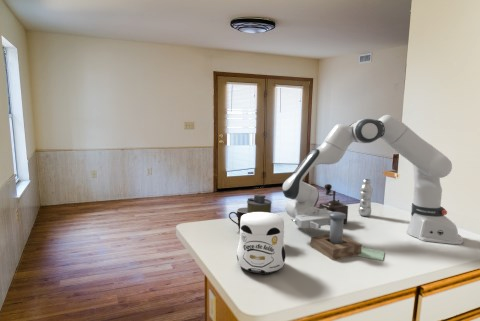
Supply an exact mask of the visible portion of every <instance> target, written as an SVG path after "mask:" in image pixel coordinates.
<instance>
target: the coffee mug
mask: <svg viewBox="0 0 480 321" xmlns="http://www.w3.org/2000/svg"><path fill="white" fill-rule="evenodd" d="M232 214H235V215H236V217H237V221H235V220H234V219H232V217H231V215H232ZM244 214H247V207H238V208H237V209H236V211H231V212H230V213H228V218H229V219H230V221H232V222H233V223H234V224H236V225H237V227H238V232H239V233H240V220H241V216H242V215H244Z"/></svg>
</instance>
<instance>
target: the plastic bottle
mask: <svg viewBox="0 0 480 321" xmlns="http://www.w3.org/2000/svg"><path fill="white" fill-rule="evenodd" d="M362 180H363V181H362V185H361V186H360V188H359V196H360V197H359V199H360V201H359V206H358V215H360V216H363V217H369V216H371V215H372V202H371V201H372V196H373V190H374V189H373V186H372V185H371V184H372V183H371V181H372V180H371V179H369V178H365V179H362Z"/></svg>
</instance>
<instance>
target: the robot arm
mask: <svg viewBox="0 0 480 321" xmlns="http://www.w3.org/2000/svg"><path fill="white" fill-rule="evenodd" d="M379 139H382V140H383V141H384V142H386V143H387V144H388V145H389V146H390V147H391V148H392V149H394V150H395V151H396V152H397V153H398V154H399V155H401V157H403V158H404V159H406V160H407V161H408V162H410V163H411V164H412V169H413V170H412V171H413V182H414V188H413V189H414V190H413V191H414V192H413V200H412V204H411V209H410V221H409V225H408V227H407V229H406V233H407V234H408V235H410V236H411V237H415V238H417V239H419V240H421V241H423V242H432V243H440V244H448V245H449V244H450V245H451V244H452V245H462V244H464V238H463V237H462V235H460V234H459V232H458V227H457V225H456V224H455V223H454V222H453V221H452V220H451V219H449V218H448V217H447V216H446V215H447V214H448V211H447V210H446V209H445V208H444V206H441V204H442V203H441V202H442V196H443V195H442V192H443V188H442V185H441V181H440V180H441V179H442V178H445V177H447V176H449V174H451V171H452V169H453V163H452V161H451V160H450V159H449V158H448V157H447V156H446V155H445V154H444V153H442V151H440V150H438V149H437V148H435V147H434V146H433V145H432V144H430V143H429V142H427V141H426V140H424V139H423V138H422V137H421V136H420V135H418V134H417V133H416V132H414V130H412V129H411V128H410V127H408V125H406V124H405V123H404V122H403V121H401V120H399V119H398V118H396V117H395V116H393V115H390V114H385V115H382V116H380V117H379V118H378V119H373V118H362V119H358V120H356V121H354V122H352V123H351V124H349V125H348V124H345V123H337V124H335V125H334V126H333V127H332V129H331V130H330V131H329V132H328V134H327V135H326V137H325V138H324V140H323V142H322V143H321V144H320V145H319V146H318V147H317V148H314V149H311V150H310V151H309V153H307V155H305V157H304V158H303V159H302V161H301V162H300V163H299V165H298V166H297V167H296V168H295V170H294V171H292V174H290V175H289V176H288V177H287V178H286V179H285V180H284V182H282V186H281V190H282V194H283V196H284V197H285V198H287V199H290V200H287V201H286V203H285V206H284V207H285V208H284V209H285V213H286V214H287V215H288V216H289V217H290V218H291V219H290V220H291V222H294V224H295V225H296V226H297V227H298V228H300V229H311V228H313V229H314V228H315V229H319V230H320V229H321V227H323V226H330V222H331V218H330V217H329V213H330V212H332V211H329V210H327V209H326V208H322V207H318V206H317V204H318V201H319V197H320V192H319V190H318V187H315V186H313V185H311V184H309V183H307V182H305V181H303V180H304V179H305V178H306V176H307V175H308V174H309V172H310V171H311V170H312V168H314V167H315V166H317V165H328V166H329V165H334V164H337V163H339V162H340V161H341V160H342V158H343V157H344V156H345V153H346V151H347V150H348V148H349V147H350V145H351V144H352V143H359V144H370V143H373V142H376V141H377V140H379ZM316 206H317V207H316Z"/></svg>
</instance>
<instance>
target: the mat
mask: <svg viewBox="0 0 480 321" xmlns="http://www.w3.org/2000/svg"><path fill="white" fill-rule="evenodd" d="M384 256H385V251H383V250H378V249H373V248H368V247H362V248H361V254H358V255H357V257H361V258H367V259H369V260H370V259H371V260H374V261H375V260H376V261H382V262H383V261H384Z"/></svg>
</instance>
